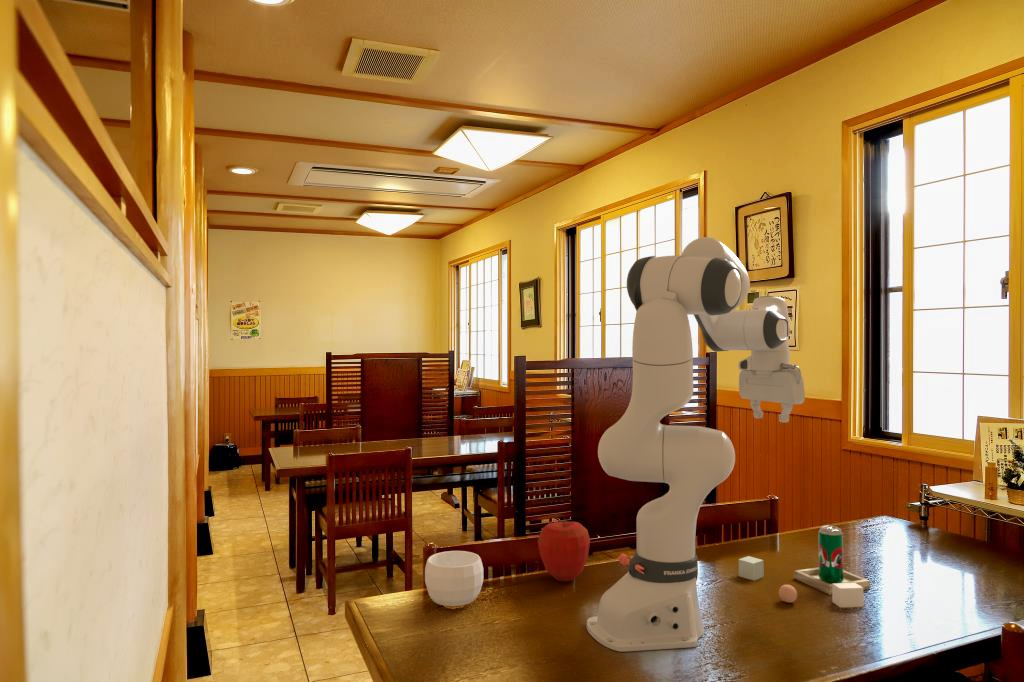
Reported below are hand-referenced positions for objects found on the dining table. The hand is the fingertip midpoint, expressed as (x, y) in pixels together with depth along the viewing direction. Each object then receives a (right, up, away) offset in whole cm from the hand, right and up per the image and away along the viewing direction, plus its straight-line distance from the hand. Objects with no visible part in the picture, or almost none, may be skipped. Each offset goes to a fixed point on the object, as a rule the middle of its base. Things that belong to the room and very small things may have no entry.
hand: (770, 420), depth 167 cm
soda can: (+9, -35, -11) cm, 38 cm away
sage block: (-7, -36, -6) cm, 37 cm away
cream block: (+7, -36, -24) cm, 44 cm away
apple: (-51, -37, -7) cm, 63 cm away
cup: (-75, -37, -22) cm, 87 cm away
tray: (+9, -36, -11) cm, 39 cm away
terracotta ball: (-5, -34, -22) cm, 41 cm away
